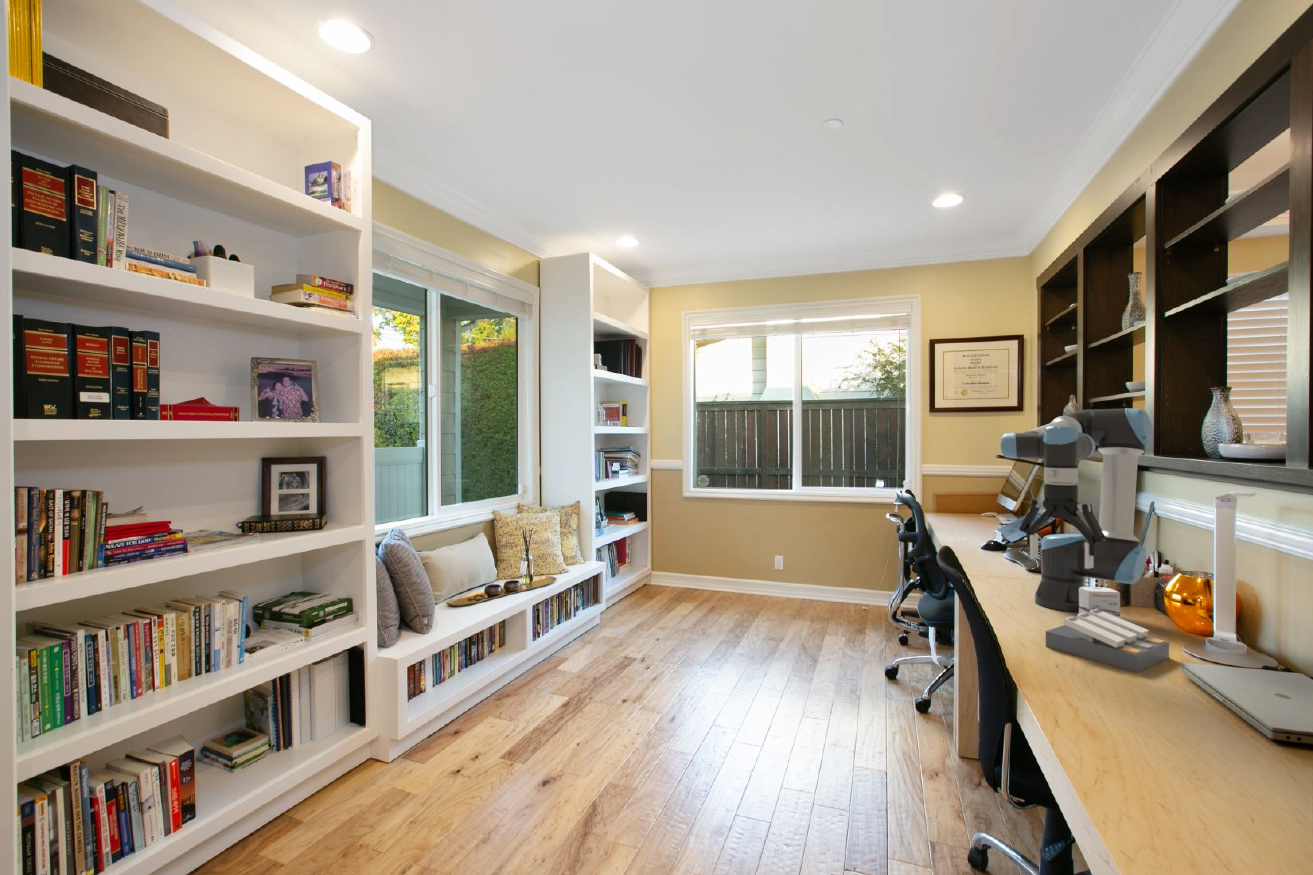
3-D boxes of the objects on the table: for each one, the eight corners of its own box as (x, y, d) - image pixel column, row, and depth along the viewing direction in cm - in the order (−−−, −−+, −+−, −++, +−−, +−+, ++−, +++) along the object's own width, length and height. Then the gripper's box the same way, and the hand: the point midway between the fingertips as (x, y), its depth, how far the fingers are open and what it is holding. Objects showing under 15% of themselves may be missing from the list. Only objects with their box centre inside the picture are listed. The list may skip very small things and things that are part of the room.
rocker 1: (1071, 621, 156) (1072, 615, 156) (1124, 644, 146) (1125, 638, 145) (1063, 623, 154) (1064, 618, 153) (1116, 647, 144) (1118, 641, 143)
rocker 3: (1095, 613, 162) (1096, 608, 162) (1147, 635, 152) (1149, 629, 152) (1087, 616, 160) (1089, 610, 160) (1140, 638, 150) (1142, 632, 150)
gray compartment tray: (1079, 634, 166) (1079, 615, 166) (1168, 657, 149) (1169, 636, 149) (1045, 646, 157) (1045, 625, 157) (1136, 672, 140) (1136, 649, 140)
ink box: (1088, 632, 168) (1088, 591, 168) (1077, 626, 173) (1077, 586, 173) (1121, 633, 167) (1121, 591, 167) (1109, 627, 172) (1109, 587, 172)
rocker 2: (1083, 617, 159) (1084, 611, 159) (1135, 639, 149) (1137, 633, 149) (1075, 619, 157) (1077, 614, 157) (1128, 642, 147) (1130, 636, 147)
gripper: (1005, 480, 168) (1005, 555, 168) (1107, 488, 146) (1107, 574, 146) (1020, 479, 171) (1020, 553, 172) (1122, 486, 150) (1122, 570, 150)
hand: (1060, 562), depth 159 cm, fingers open, 13 cm apart
